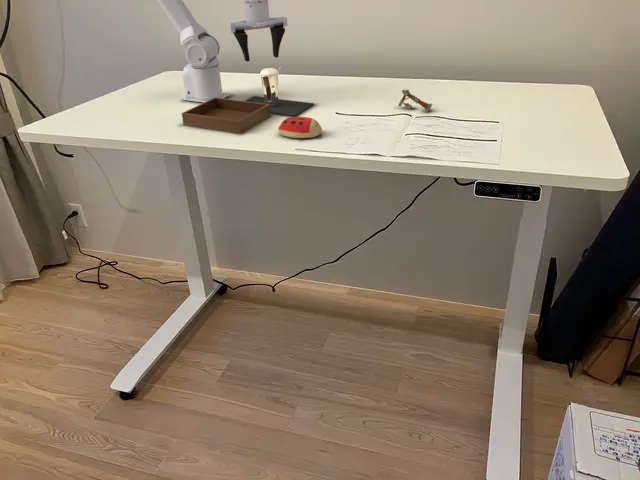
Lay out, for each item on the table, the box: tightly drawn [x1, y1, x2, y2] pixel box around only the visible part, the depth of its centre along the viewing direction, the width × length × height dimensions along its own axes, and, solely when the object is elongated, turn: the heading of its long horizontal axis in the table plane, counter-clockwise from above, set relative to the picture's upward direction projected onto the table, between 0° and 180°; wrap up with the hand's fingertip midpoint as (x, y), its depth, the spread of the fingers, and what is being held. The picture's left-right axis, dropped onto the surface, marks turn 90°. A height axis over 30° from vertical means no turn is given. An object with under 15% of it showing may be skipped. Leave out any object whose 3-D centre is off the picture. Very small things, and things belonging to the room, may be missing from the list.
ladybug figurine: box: [277, 116, 323, 139], centre depth 124 cm, size 7×10×4 cm
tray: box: [181, 97, 272, 135], centre depth 134 cm, size 16×13×3 cm
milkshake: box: [259, 64, 282, 107], centre depth 140 cm, size 4×5×10 cm
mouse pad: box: [245, 95, 315, 117], centre depth 142 cm, size 18×10×1 cm, turn 63°
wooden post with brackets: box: [398, 89, 433, 113], centre depth 136 cm, size 2×8×4 cm, turn 62°
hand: (261, 58), depth 143 cm, fingers open, 7 cm apart
